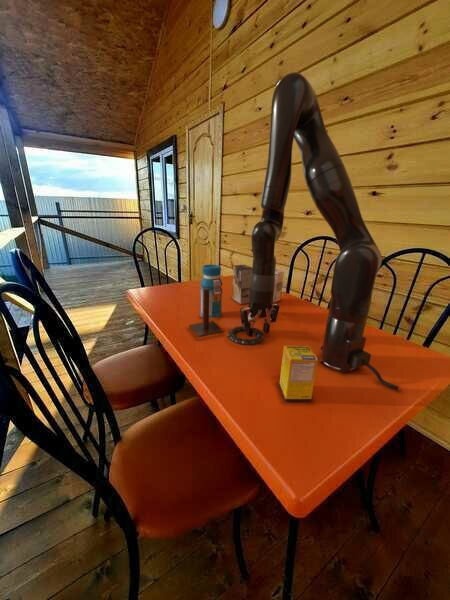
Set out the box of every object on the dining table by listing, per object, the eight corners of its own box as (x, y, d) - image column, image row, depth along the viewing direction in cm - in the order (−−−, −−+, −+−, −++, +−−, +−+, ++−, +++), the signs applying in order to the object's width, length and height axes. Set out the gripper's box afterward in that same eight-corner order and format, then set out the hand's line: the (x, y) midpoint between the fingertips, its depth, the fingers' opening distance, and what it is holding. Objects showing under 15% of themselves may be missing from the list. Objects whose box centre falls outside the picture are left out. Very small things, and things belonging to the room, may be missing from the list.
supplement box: (302, 384, 62) (309, 345, 58) (311, 402, 56) (319, 359, 53) (278, 384, 62) (283, 344, 58) (284, 402, 56) (290, 359, 52)
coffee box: (252, 302, 117) (255, 268, 111) (240, 304, 114) (242, 269, 109) (243, 296, 124) (245, 264, 119) (231, 298, 122) (232, 265, 116)
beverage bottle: (198, 320, 96) (198, 268, 90) (201, 311, 104) (201, 263, 98) (220, 321, 96) (222, 269, 89) (221, 312, 104) (223, 264, 97)
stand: (223, 335, 85) (224, 291, 80) (198, 340, 81) (198, 294, 76) (212, 324, 93) (213, 283, 88) (189, 328, 89) (188, 286, 84)
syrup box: (270, 297, 125) (273, 268, 120) (280, 300, 121) (284, 270, 116) (263, 300, 121) (266, 270, 116) (274, 303, 117) (278, 272, 112)
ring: (271, 344, 80) (272, 337, 80) (238, 351, 75) (239, 344, 75) (251, 329, 90) (252, 322, 90) (221, 334, 85) (221, 328, 85)
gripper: (248, 292, 73) (245, 344, 79) (288, 288, 79) (282, 336, 85) (236, 286, 79) (233, 334, 85) (273, 282, 85) (268, 327, 91)
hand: (257, 335), depth 85 cm, fingers open, 5 cm apart
